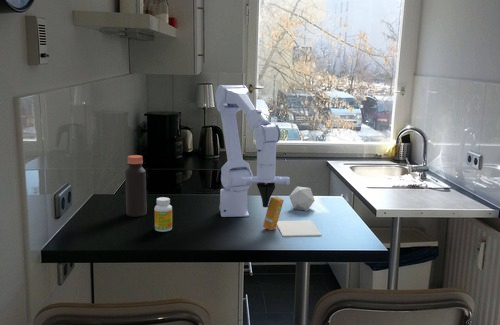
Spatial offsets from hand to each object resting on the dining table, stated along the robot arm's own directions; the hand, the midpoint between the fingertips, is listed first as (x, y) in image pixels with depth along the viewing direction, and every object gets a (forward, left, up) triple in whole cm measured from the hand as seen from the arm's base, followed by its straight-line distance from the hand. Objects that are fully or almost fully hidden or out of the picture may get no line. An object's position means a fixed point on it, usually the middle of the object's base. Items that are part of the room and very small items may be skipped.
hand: (265, 206), depth 154 cm
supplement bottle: (-31, +2, -8) cm, 32 cm away
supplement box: (+2, 0, -7) cm, 7 cm away
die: (+17, +22, -8) cm, 29 cm away
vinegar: (-41, +18, -8) cm, 46 cm away
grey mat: (+11, 0, -7) cm, 13 cm away
